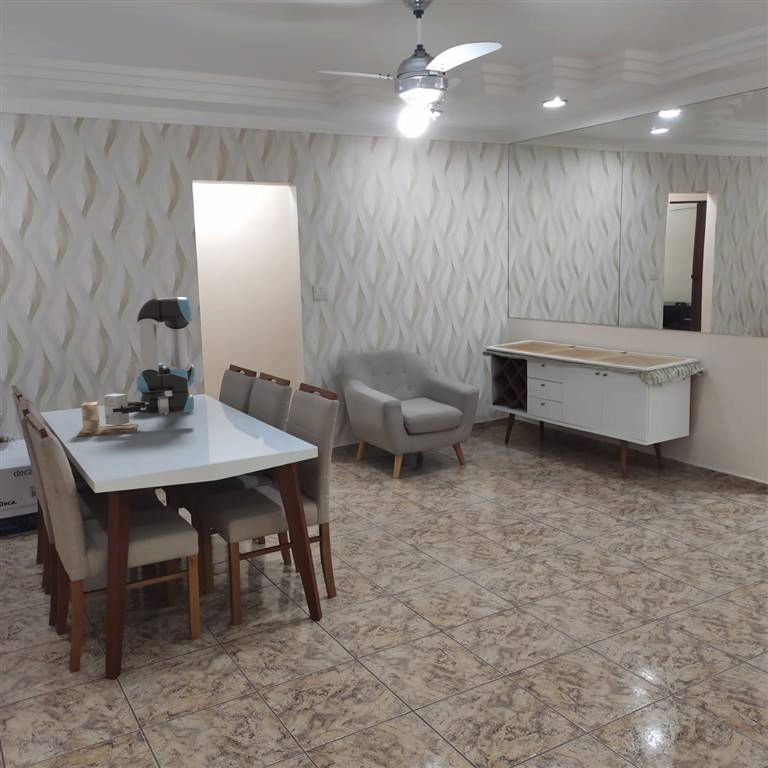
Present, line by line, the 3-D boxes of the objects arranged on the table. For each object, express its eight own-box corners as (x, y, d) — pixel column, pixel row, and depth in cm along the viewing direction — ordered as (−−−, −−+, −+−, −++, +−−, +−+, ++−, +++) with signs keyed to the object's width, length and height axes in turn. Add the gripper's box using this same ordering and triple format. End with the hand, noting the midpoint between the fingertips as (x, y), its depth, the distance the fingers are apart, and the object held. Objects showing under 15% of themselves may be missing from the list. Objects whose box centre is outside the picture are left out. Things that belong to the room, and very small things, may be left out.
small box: (129, 422, 335) (127, 394, 333) (118, 425, 329) (116, 396, 327) (116, 421, 338) (114, 393, 337) (105, 424, 333) (103, 395, 331)
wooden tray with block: (138, 425, 344) (136, 397, 342) (136, 433, 329) (134, 403, 327) (82, 429, 338) (79, 401, 336) (77, 437, 323) (75, 407, 321)
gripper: (158, 417, 327) (104, 421, 322) (159, 409, 349) (109, 412, 343) (157, 401, 326) (103, 404, 320) (158, 393, 348) (107, 396, 342)
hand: (106, 408), depth 332 cm, fingers closed on small box, 10 cm apart
